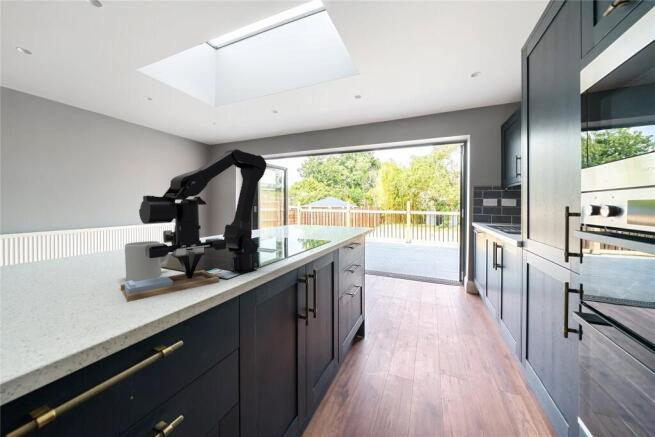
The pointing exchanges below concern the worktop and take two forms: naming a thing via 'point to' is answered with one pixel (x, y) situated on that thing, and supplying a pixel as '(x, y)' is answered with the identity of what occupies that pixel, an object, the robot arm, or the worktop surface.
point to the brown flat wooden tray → (175, 285)
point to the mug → (142, 262)
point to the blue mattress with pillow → (147, 284)
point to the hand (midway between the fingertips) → (189, 278)
